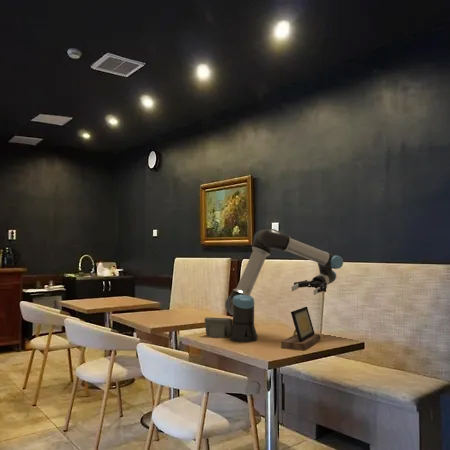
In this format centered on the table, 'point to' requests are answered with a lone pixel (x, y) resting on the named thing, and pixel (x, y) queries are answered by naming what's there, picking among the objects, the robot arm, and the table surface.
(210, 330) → the digital clock
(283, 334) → the table surface
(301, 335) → the picture frame
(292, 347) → the plinth
